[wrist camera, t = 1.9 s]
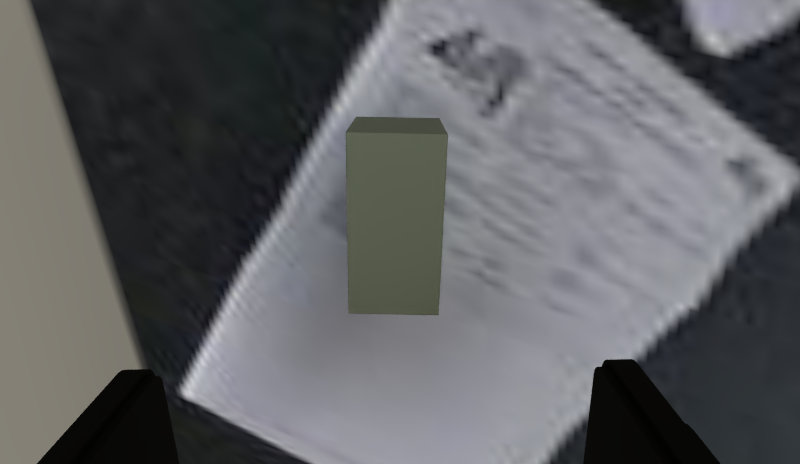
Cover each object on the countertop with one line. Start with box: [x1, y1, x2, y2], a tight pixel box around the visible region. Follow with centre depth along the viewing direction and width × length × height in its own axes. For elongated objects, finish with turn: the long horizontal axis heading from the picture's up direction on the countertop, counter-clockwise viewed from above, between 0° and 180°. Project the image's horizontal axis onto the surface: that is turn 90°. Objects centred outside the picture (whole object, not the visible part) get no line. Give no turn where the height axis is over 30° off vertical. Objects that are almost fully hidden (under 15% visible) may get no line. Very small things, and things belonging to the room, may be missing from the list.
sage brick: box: [346, 117, 448, 315], centre depth 23 cm, size 8×4×5 cm, turn 179°
